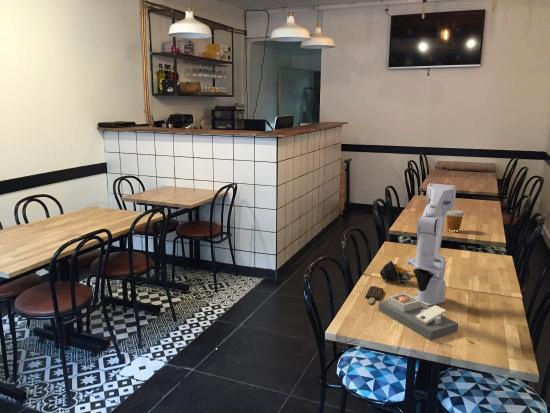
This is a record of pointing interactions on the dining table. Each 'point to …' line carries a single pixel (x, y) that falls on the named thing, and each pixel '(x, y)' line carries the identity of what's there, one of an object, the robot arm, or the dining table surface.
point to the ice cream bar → (374, 294)
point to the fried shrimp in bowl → (395, 273)
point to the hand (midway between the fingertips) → (422, 290)
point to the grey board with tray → (407, 317)
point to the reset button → (404, 299)
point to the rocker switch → (430, 314)
